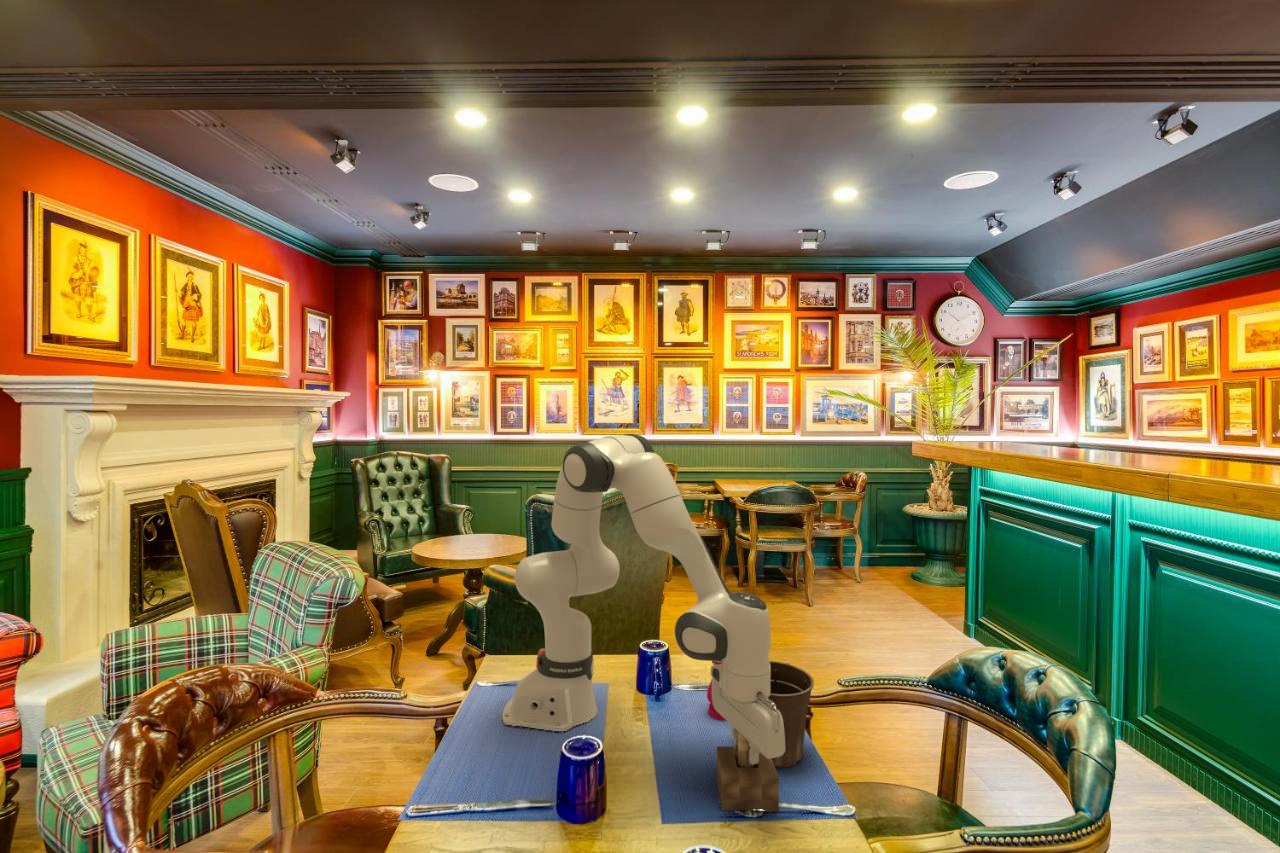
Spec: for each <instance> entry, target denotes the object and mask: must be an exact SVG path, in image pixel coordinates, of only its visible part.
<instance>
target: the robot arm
mask: <svg viewBox="0 0 1280 853" xmlns="http://www.w3.org/2000/svg"><path fill="white" fill-rule="evenodd" d="M610 489H615V490H617V491H619V492H620V493H621V494H622V495H623V497H624V500H625V503H626V506H627V509H628V512H629V515H630V518H631V520H632V523H633V526H634V528H635V531H636V533H637V534H638V535H639V537H640V539H641V540H642V541H643V543H645V544H646V545H647V546H648V547H651V548H653V549H656V550H659V551H662V552H665V553H668V554H670V555H672V556H674V557H675V558H676V559H677V560H678V561H679V562H680V563H681V565H682V567H683V569H684V572H686V575H687V576H688V578H689V581H690V584H691V586H692V588H693V590H694V592H695V594H696V596H697V597H696V598H697V604H695V605H693V606H692V607H690V608H689V609H687V610H686V611H685V612H684V613H682V614H681V615H680V616H679V617H678V618H677V620H676V623H675V626H674V638H675V641H676V643H677V645H678V647H679V649H680V650H681V652H682V653H683V654H684V655H685V656H687V657H689V658H691V659H693V660H695V661H704V662H705V661H708V662H709V661H710V662H712V661H718V660H722V662H723V664H718V665H711V666H710V676H711V680H712V702H713V706H714V708H715V710H716V711H717V712H718V713H719V714H720V715H721V716H722V717H723V718H725V719H726V720H725V721H726V722H728V723H729V724H730V730H731V735H732V738H733V747H734V748H735V749H736V750H737V751H738V732H739V733H740V734H741V735H742V736H743V737H745V738H746V739H747V740H748V741H749V746H750V747H751V748H750V751H746V756H747V757H746V759H747V761H748V762H749V763H750V764H752V765H753V764H757V763H758V762H759V753H761V754H762V755H764V756H765V757H766V758H767V759H771V758H776V757H780V756H782V755H783V754H784V752H785V733H784V724H783V718H782V715H781V713H780V712H779V710H778V709H777V708H776V704H775V703H774V702H773V701H771V700H769V699H768V697H769V696H770V693H771V665H770V662H769V661H770V657H769V656H770V651H771V646H772V634H771V633H772V632H771V630H772V629H771V618H770V612H769V607H768V606H767V604H766V602H765V601H764V600H763V599H762V598H760V597H759V596H757V595H755V594H752V593H748V592H745V591H744V592H743V591H734V592H732V591H731V590H729V588H728V587H727V585H726V583H725V582H724V579H723V578H722V576H721V574H720V571H719V570H718V567H717V565H716V563H715V562H714V559H713V557H712V555H711V553H710V550H709V548H708V547H707V545H706V543H705V541H704V539H703V537H702V535H701V534H700V533H699V530H698V529H697V527H696V525H695V524H694V522H693V520H692V518H691V516H690V513H689V511H688V509H687V507H686V505H685V502H684V500H683V496H682V495H681V492H680V490H679V488H678V485H677V483H676V480H675V479H674V477H673V475H672V473H671V471H670V469H669V468H668V466H667V465H666V463H665V461H664V460H663V458H662V457H661V456H660V455H658V453H655V452H654V448H653V446H652V444H651V442H650V441H649V440H648V438H646V437H644V436H642V435H639V434H634V433H625V434H623V435H621V434H619V435H609V436H608V435H607V436H604V437H601V438H597V439H593V440H589V441H582V442H579V443H577V444H575V445H573V446H571V447H570V448H569V449H568V450H567V451H566V452H565V454H564V456H563V460H562V464H561V467H560V471H559V475H558V477H557V481H556V486H555V490H554V499H553V509H552V514H551V515H552V516H551V524H550V525H551V528H552V532H553V533H554V536H556V537H557V538H558V539H559V540H561V541H562V542H564V543H567V544H570V548H569V549H566V550H558V551H557V550H556V551H546V552H540V553H537V554H533V555H530V556H526V557H523V558H522V559H521V560H520V562H519V563H518V565H517V567H516V570H515V573H514V584H515V587H516V589H517V591H518V594H519V595H520V596H521V597H522V598H523V599H525V600H526V601H528V602H529V603H531V604H532V605H533V607H534V608H536V610H537V611H538V612H539V614H540V616H541V619H542V622H543V623H542V624H543V629H544V644H545V645H544V648H540V649H539V650H538V653H537V657H536V662H535V664H536V666H535V667H536V668H535V669H534V670H532V671H531V672H530V673H528V674H527V675H526V676H525V677H523V678H522V679H521V680H520V681H519V683H518V684H517V685H516V688H515V689H514V691H513V692H514V693H513V696H512V697H511V699H510V700H509V701H507V703H506V704H505V706H504V707H503V708H504V709H503V711H502V715H501V716H502V717H501V721H502V720H503V721H502V723H503V722H504V723H505V724H507V725H515V726H525V727H532V728H540V729H541V728H542V729H550V730H551V729H552V730H561V731H564V730H568V729H570V728H571V727H573V726H575V727H577V726H576V725H578V726H580V725H579V724H581V725H583V724H582V723H584V724H586V723H588V722H590V721H592V720H593V719H594V718H595V717H597V715H598V712H599V710H598V709H599V708H598V706H597V702H596V697H595V693H594V685H593V675H594V653H593V651H592V622H591V620H590V618H589V617H588V615H587V614H585V613H584V612H582V611H580V610H578V609H576V608H573V607H570V598H572V597H578V596H586V595H593V594H598V593H601V592H603V591H606V590H608V589H611V588H613V587H614V586H615V585H616V584H617V582H618V579H619V577H620V569H621V568H620V562H619V560H618V558H617V556H616V554H615V553H614V552H613V551H612V550H610V549H609V548H608V547H606V545H605V544H604V543H603V541H602V538H601V534H600V520H601V511H602V503H603V496H604V493H606V492H608V490H610ZM712 678H713V679H712ZM591 719H592V720H591ZM585 722H586V723H585ZM504 723H503V724H504ZM505 724H504V725H505ZM507 725H506V726H507ZM557 726H559V727H557ZM573 728H574V727H573ZM571 729H572V728H571ZM571 729H570V730H571ZM568 731H569V730H568Z"/></svg>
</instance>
